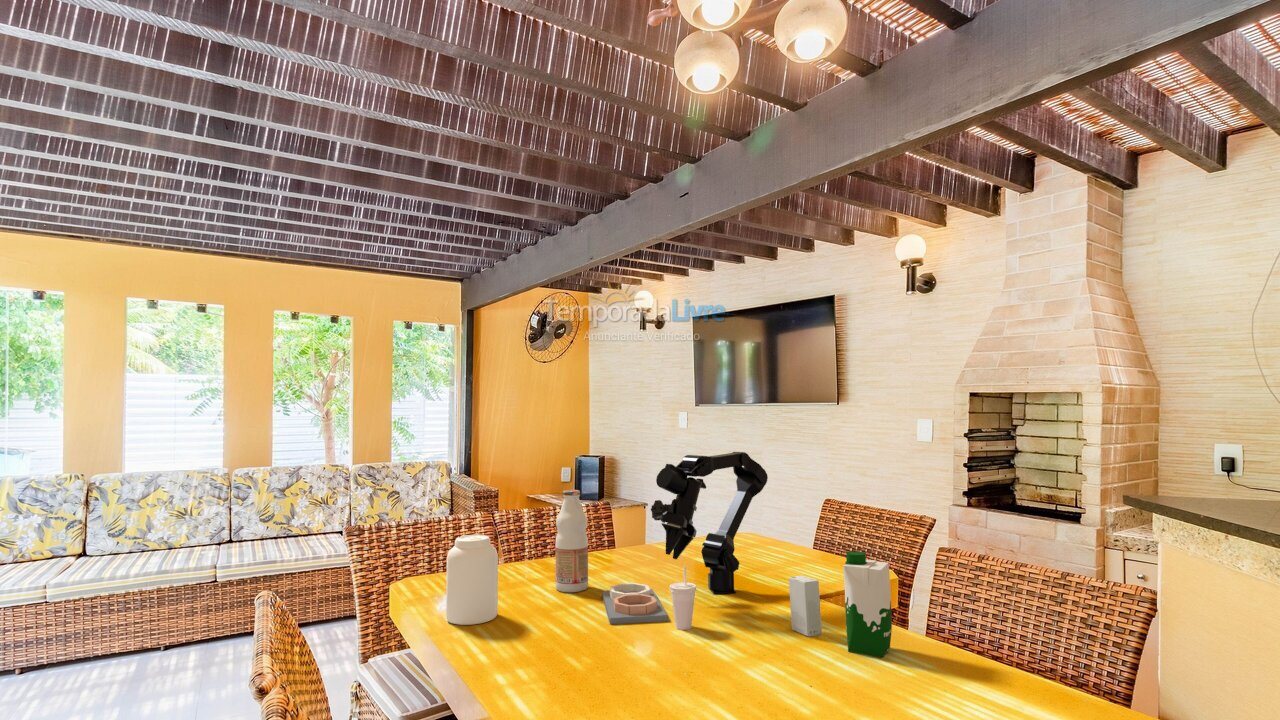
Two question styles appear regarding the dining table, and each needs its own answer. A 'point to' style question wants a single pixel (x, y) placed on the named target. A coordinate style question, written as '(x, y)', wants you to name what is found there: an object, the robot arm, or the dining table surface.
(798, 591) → the skincare box
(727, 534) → the robot arm
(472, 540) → the white plastic jar
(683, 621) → the smoothie
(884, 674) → the dining table surface
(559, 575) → the fruit juice
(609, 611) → the board
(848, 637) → the milk carton
